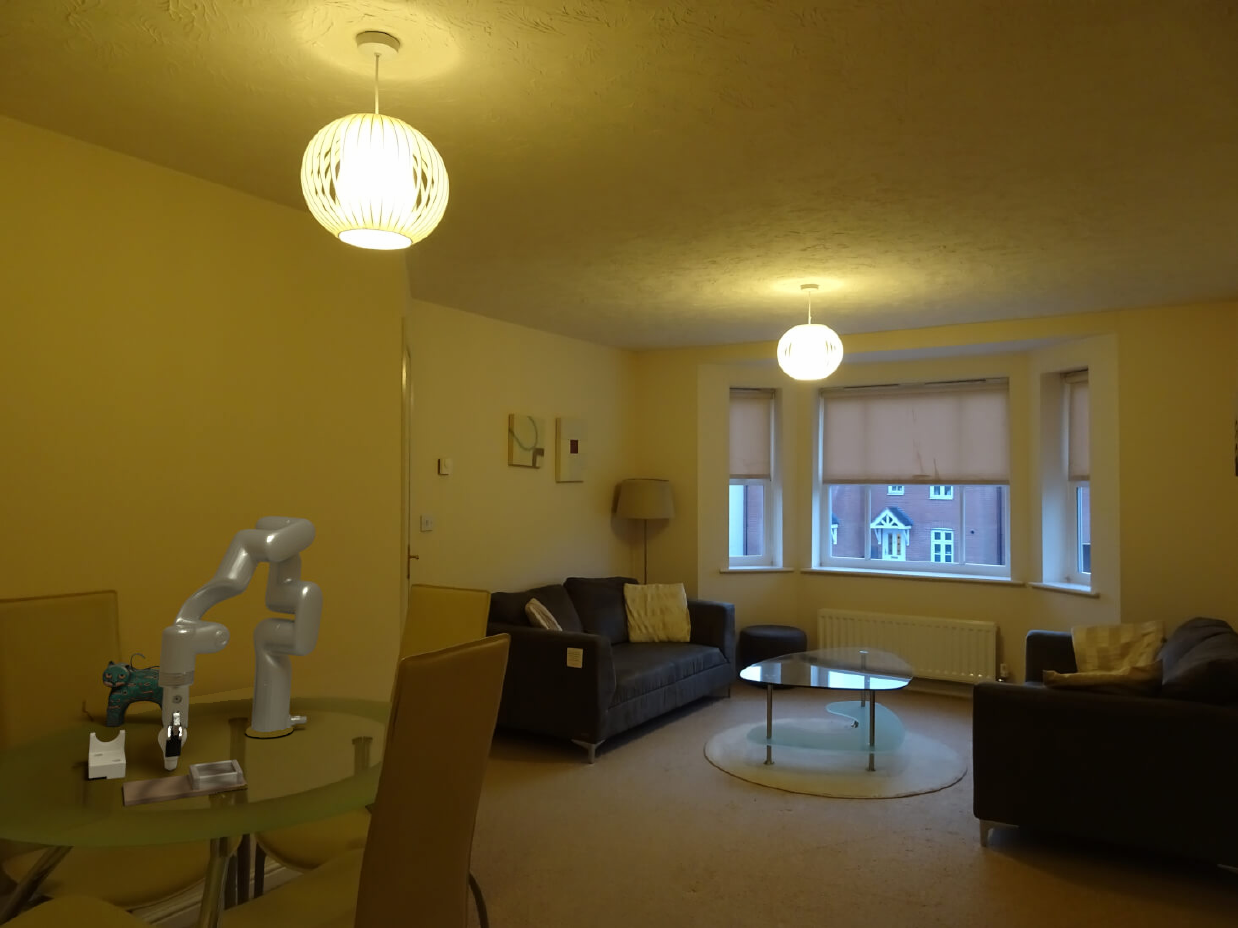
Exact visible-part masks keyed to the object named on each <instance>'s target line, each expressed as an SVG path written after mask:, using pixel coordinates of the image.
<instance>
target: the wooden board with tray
mask: <svg viewBox="0 0 1238 928" xmlns="http://www.w3.org/2000/svg"><path fill="white" fill-rule="evenodd" d="M188 766H189V767H188V774H183V775H176V776H168V777H167V776H166V777H160V778H152V779H145V780H137V781H135V780H134V781H128V782H123V783H122V793H123V801H124V806H125V807H128V806H135V805H136V806H137V805H142V804H144V805H145V804H149V803H150V804H151V803H157V802H163V801H164V802H165V801H171V800H177V799H178V800H180V799H187V798H194V797H199V796H202V797H203V796H207V795H214V794H215V793H216V794H219V793H218V792H222V791H225V790H231V789H233V788H237V787H240V786H244V785H245V784H248V782H247V781H246V779H245V776H244V772H243V770H242V768H241V766H240V764H239V761H237V759H231V760H230V759H229V760H221V761H214V762H206V763H205V762H204V763H197V764H190V765H188Z"/></svg>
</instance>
